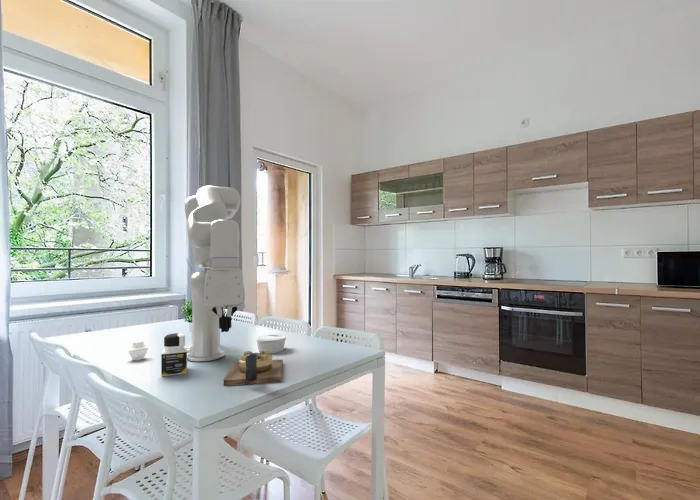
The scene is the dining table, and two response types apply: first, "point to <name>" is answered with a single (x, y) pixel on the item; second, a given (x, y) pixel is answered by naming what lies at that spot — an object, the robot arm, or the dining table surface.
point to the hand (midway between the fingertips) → (225, 331)
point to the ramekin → (271, 343)
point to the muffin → (138, 350)
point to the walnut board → (262, 377)
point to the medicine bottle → (174, 355)
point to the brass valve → (255, 364)
